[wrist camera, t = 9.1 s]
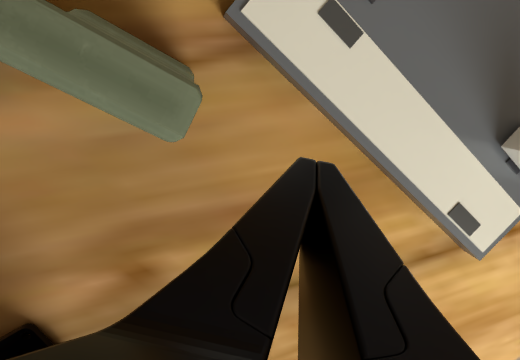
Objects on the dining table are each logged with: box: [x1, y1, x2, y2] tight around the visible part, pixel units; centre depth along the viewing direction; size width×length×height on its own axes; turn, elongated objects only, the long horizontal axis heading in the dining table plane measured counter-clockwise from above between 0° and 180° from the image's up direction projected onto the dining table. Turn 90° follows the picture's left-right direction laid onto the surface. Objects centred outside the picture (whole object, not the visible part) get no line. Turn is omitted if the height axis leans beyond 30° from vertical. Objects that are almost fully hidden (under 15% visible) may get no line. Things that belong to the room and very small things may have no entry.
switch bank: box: [224, 0, 520, 261], centre depth 20 cm, size 14×22×2 cm, turn 48°
